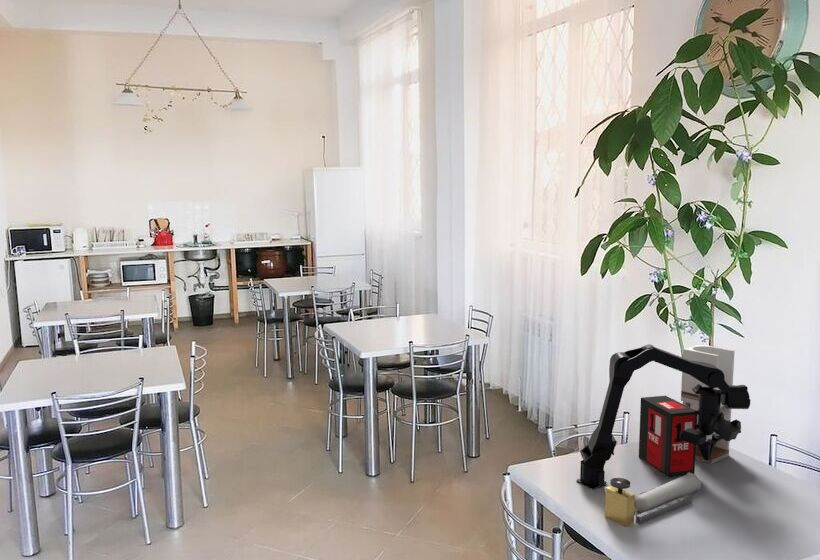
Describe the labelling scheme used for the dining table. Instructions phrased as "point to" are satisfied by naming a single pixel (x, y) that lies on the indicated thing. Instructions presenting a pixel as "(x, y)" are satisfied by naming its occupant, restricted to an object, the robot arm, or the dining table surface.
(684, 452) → the cleaning product box
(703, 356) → the display case
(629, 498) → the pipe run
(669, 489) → the tube
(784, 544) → the dining table surface
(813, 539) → the dining table surface
